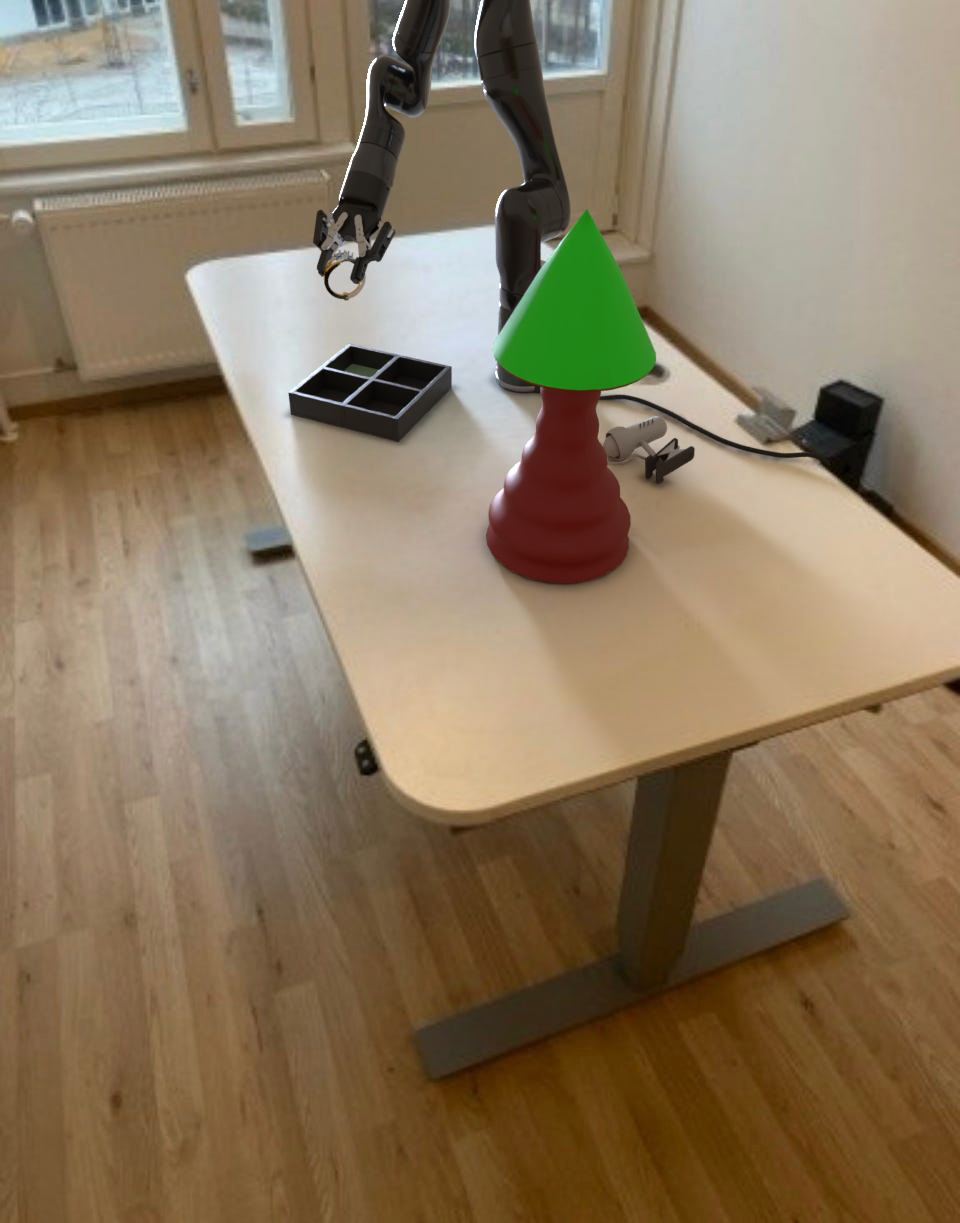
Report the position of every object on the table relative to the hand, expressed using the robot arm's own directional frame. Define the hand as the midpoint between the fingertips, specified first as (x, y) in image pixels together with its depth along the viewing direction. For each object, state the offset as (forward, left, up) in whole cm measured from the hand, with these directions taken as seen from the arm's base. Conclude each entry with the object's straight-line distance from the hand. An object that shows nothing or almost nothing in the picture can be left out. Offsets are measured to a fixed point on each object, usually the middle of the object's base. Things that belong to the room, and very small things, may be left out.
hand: (338, 278), depth 158 cm
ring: (0, -2, -4) cm, 5 cm away
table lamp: (-50, +29, -18) cm, 61 cm away
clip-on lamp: (-53, +7, -18) cm, 57 cm away
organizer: (-8, +5, -18) cm, 20 cm away
